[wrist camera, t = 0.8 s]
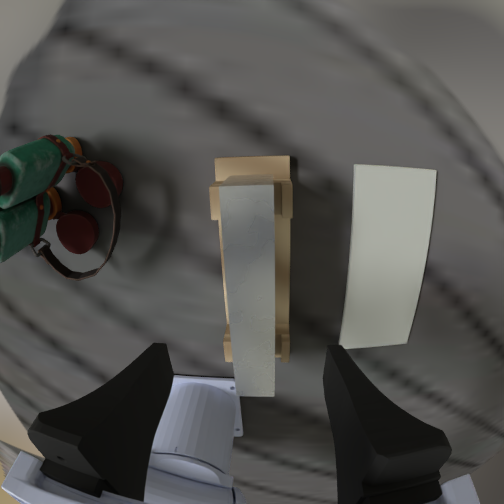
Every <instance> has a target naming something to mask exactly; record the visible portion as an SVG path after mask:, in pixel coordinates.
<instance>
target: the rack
mask: <svg viewBox="0 0 504 504" xmlns="http://www.w3.org/2000/svg"><path fill="white" fill-rule="evenodd" d="M266 174H273V182H274V229H275V357H281V362H289V355H290V334H289V292H290V218H293V185H292V182H291V180H290V156H244V157H222V158H215V175H216V181H215V182H214V183H213V184H212V185H211V186H210V187H209V191H210V206H211V219H212V220H218V221H219V234H220V248H221V260H222V272H223V284H224V296H225V307H226V317H227V327H226V331H225V336H224V340H223V344H224V353H225V361H226V362H233V358H232V347H231V337H230V326H229V315H228V304H227V293H226V281H225V268H224V255H223V242H222V228H221V213H220V198H219V186H220V185H221V184H222V183H223V182H224V181H225V180H226V179H227V178H228V177H229V176H233V175H266Z"/></svg>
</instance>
